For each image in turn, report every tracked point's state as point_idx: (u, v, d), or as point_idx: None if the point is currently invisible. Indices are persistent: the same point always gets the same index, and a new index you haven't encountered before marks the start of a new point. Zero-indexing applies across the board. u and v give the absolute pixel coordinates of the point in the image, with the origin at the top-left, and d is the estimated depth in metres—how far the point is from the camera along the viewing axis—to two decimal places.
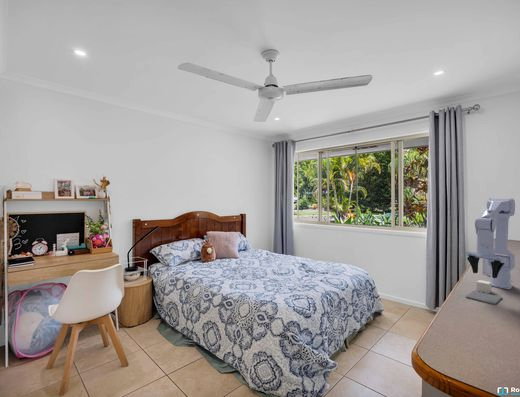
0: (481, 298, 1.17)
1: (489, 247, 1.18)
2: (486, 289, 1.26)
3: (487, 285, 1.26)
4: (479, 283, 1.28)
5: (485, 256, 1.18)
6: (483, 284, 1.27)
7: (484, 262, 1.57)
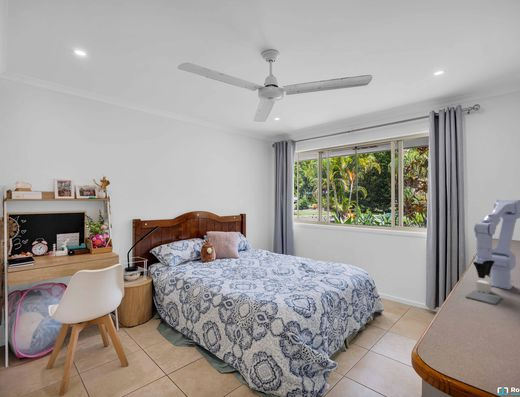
0: (481, 298, 1.17)
1: (479, 249, 1.28)
2: (486, 289, 1.26)
3: (487, 285, 1.26)
4: (479, 283, 1.28)
5: (476, 257, 1.29)
6: (483, 284, 1.27)
7: None
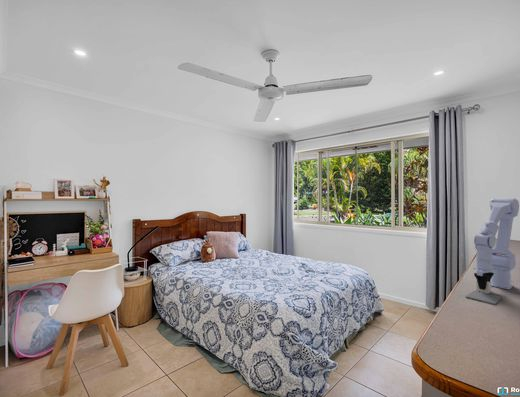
0: (481, 298, 1.17)
1: (478, 261, 1.28)
2: (486, 289, 1.26)
3: (487, 285, 1.26)
4: None
5: (476, 268, 1.29)
6: None
7: None
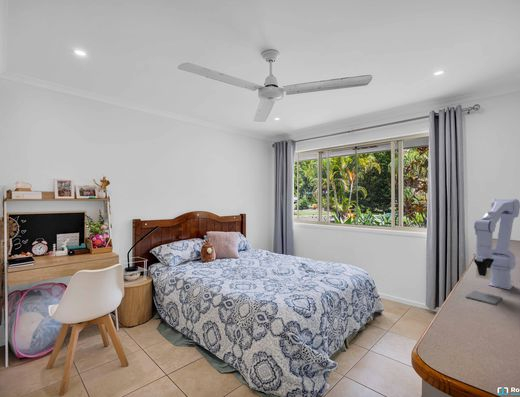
0: (481, 298, 1.17)
1: (478, 246, 1.26)
2: (486, 275, 1.24)
3: (487, 271, 1.23)
4: None
5: (476, 254, 1.27)
6: None
7: None
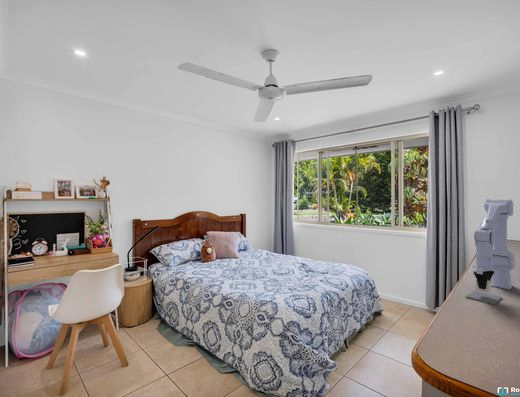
0: (481, 298, 1.17)
1: (478, 258, 1.19)
2: (486, 288, 1.17)
3: (487, 284, 1.17)
4: None
5: (475, 266, 1.21)
6: None
7: None
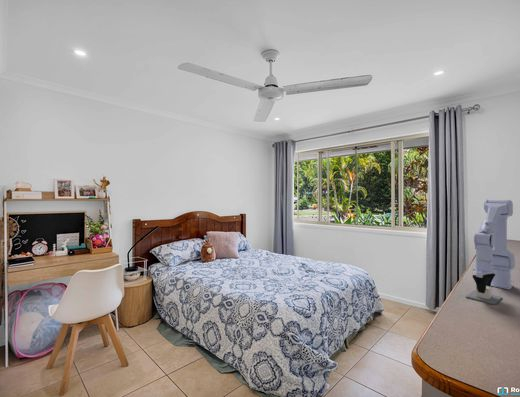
0: (481, 298, 1.17)
1: (478, 261, 1.19)
2: (486, 294, 1.17)
3: (487, 290, 1.17)
4: None
5: (475, 269, 1.21)
6: None
7: None
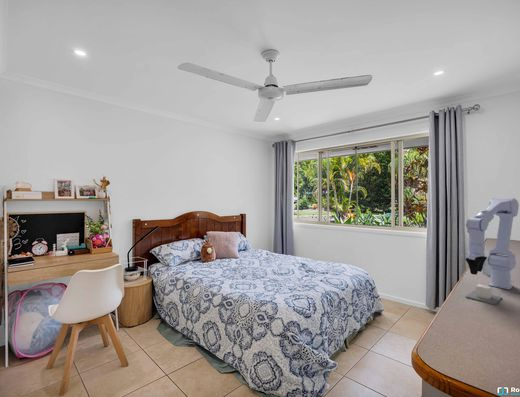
0: (481, 298, 1.17)
1: (471, 245, 1.26)
2: (486, 294, 1.17)
3: (487, 290, 1.17)
4: (479, 288, 1.19)
5: (468, 253, 1.27)
6: (483, 289, 1.18)
7: (484, 262, 1.57)
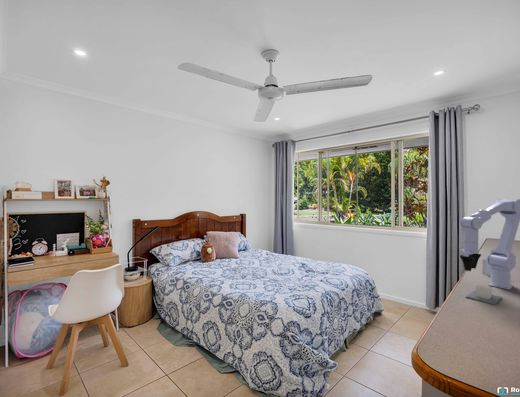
0: (481, 298, 1.17)
1: (465, 242, 1.31)
2: (486, 294, 1.17)
3: (487, 290, 1.17)
4: (479, 288, 1.19)
5: (463, 250, 1.33)
6: (483, 289, 1.18)
7: (484, 262, 1.57)
